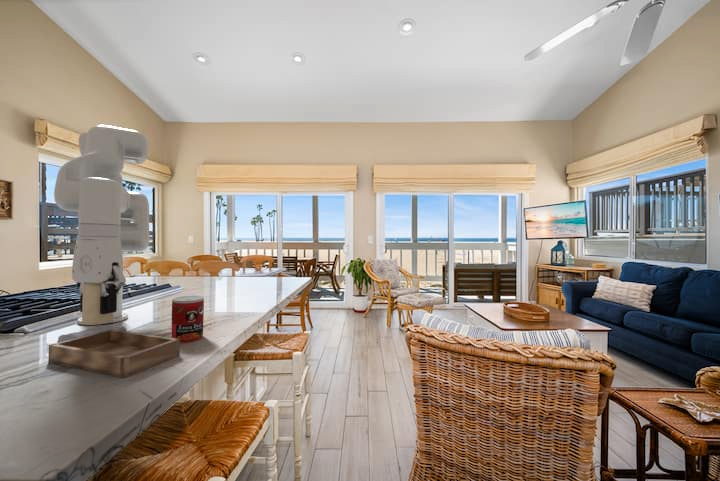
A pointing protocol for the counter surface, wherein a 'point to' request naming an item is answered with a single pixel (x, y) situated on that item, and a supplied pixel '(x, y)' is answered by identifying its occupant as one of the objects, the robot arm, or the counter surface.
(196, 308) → the canned food
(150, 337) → the tray
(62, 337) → the stone block
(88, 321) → the candle
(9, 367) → the counter surface
